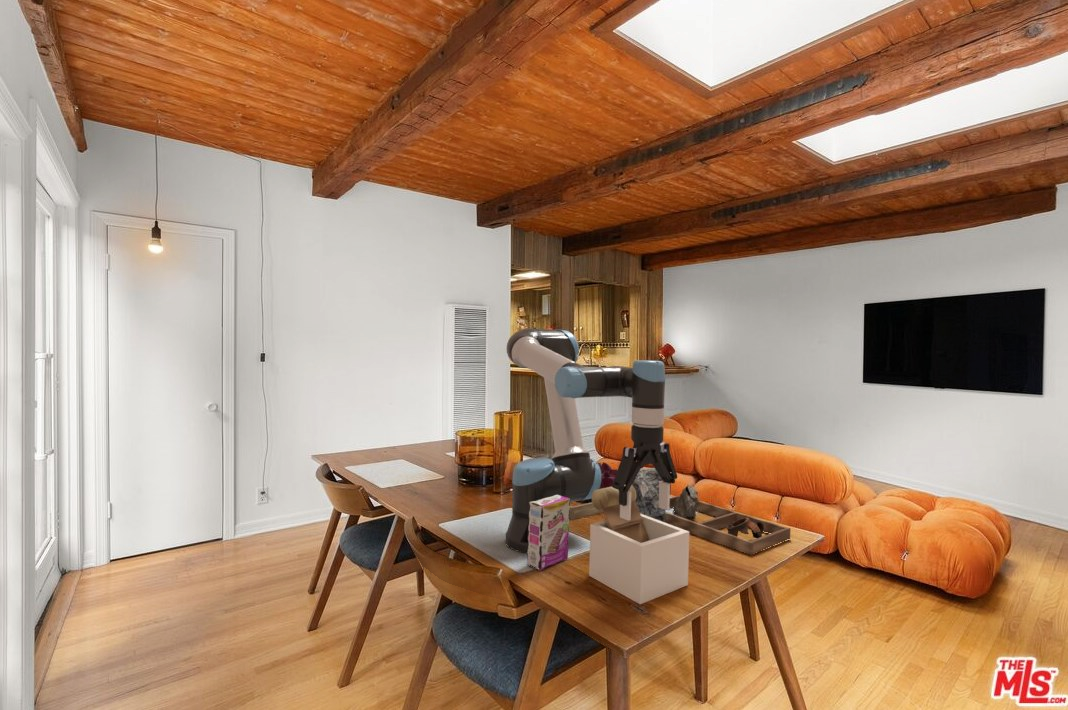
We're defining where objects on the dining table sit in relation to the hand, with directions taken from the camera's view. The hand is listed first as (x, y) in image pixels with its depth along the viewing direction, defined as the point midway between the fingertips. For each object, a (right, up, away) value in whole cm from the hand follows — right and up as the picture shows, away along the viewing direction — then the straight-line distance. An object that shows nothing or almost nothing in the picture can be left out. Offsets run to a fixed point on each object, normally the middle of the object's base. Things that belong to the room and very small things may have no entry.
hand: (645, 513), depth 120 cm
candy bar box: (-23, -16, +11) cm, 30 cm away
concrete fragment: (+24, -17, +51) cm, 59 cm away
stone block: (+7, -17, +33) cm, 37 cm away
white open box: (-1, -17, +2) cm, 17 cm away
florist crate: (-7, -16, +67) cm, 69 cm away
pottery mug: (+36, -18, +28) cm, 49 cm away
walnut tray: (+30, -17, +40) cm, 53 cm away
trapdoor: (-5, -6, +7) cm, 11 cm away
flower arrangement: (-7, -16, +67) cm, 69 cm away
